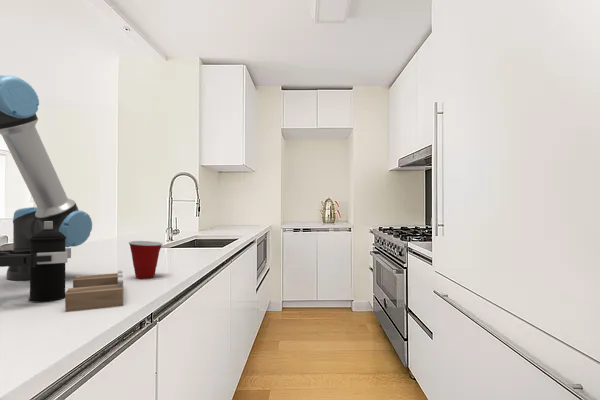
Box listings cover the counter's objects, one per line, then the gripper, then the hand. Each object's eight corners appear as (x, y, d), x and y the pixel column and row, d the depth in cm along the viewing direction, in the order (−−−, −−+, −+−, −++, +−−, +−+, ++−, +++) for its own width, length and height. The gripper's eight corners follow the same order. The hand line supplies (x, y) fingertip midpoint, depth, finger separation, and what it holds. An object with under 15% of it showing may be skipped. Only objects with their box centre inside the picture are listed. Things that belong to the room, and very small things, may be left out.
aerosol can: (53, 302, 97) (53, 222, 98) (20, 302, 98) (21, 222, 98) (73, 294, 106) (73, 220, 106) (42, 294, 106) (43, 220, 106)
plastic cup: (161, 279, 127) (162, 242, 127) (125, 281, 124) (125, 243, 124) (164, 273, 137) (164, 239, 137) (130, 275, 134) (130, 240, 134)
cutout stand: (75, 290, 111) (75, 271, 111) (122, 286, 116) (122, 268, 116) (65, 311, 89) (65, 288, 90) (123, 305, 95) (123, 284, 95)
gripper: (-26, 269, 104) (73, 263, 113) (-58, 284, 85) (64, 275, 94) (-26, 240, 104) (73, 237, 113) (-58, 249, 85) (64, 244, 94)
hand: (69, 254), depth 104 cm, fingers closed on aerosol can, 8 cm apart
